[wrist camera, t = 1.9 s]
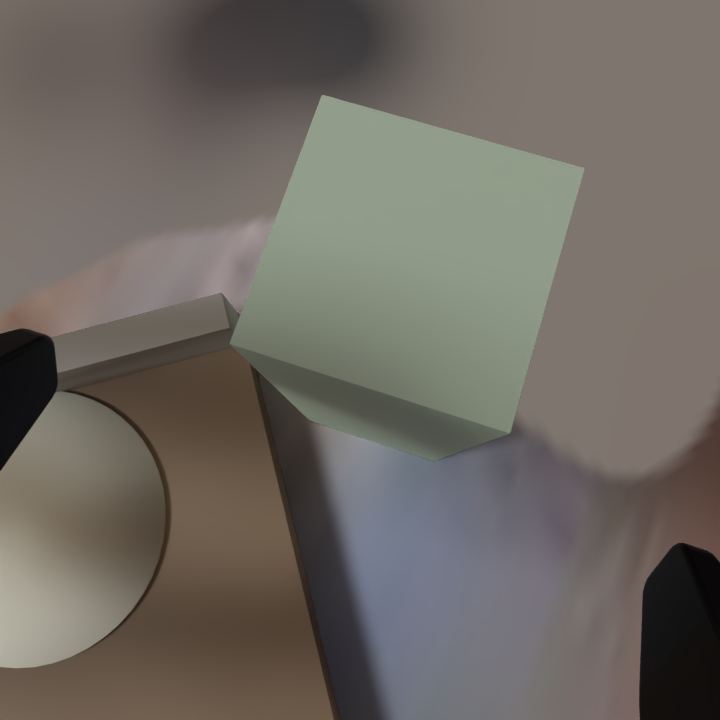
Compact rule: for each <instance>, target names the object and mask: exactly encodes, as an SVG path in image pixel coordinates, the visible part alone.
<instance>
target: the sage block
mask: <svg viewBox="0 0 720 720" xmlns="http://www.w3.org/2000/svg"><path fill="white" fill-rule="evenodd" d="M583 172H584V168H581V167H578V166H574V165H571V164H567V163H564V162H560V161H557V160H553V159H549V158H546V157H542V156H539V155H535V154H532V153H528V152H524V151H521V150H517V149H514V148H510V147H506V146H503V145H499V144H495V143H492V142H489V141H485V140H481V139H478V138H475V137H471V136H467V135H463V134H460V133H457V132H453V131H450V130H446V129H442V128H439V127H435V126H431V125H428V124H425V123H421V122H417V121H414V120H410V119H407V118H403V117H400V116H396V115H392V114H389V113H385V112H381V111H378V110H375V109H371V108H367V107H364V106H360V105H357V104H353V103H350V102H346V101H342V100H339V99H335V98H332V97H328V96H325V95H322V97H321V99H320V102H319V105H318V107H317V110H316V112H315V116H314V118H313V120H312V123H311V126H310V128H309V131H308V134H307V137H306V139H305V142H304V145H303V147H302V150H301V153H300V156H299V158H298V161H297V163H296V166H295V169H294V172H293V174H292V177H291V180H290V182H289V185H288V188H287V190H286V193H285V196H284V198H283V201H282V204H281V206H280V209H279V212H278V214H277V217H276V220H275V223H274V225H273V228H272V231H271V233H270V236H269V239H268V241H267V244H266V247H265V249H264V252H263V255H262V257H261V260H260V263H259V265H258V268H257V271H256V274H255V276H254V279H253V282H252V284H251V287H250V290H249V292H248V295H247V298H246V300H245V303H244V306H243V308H242V311H241V314H240V317H239V319H238V322H237V325H236V327H235V330H234V333H233V335H232V338H231V341H230V343H229V344H230V345H231V346H232V347H233V348H234V349H235V350H236V351H237V352H238V353H239V354H240V355H241V356H243V357H244V358H245V359H246V360H247V361H248V362H249V363H250V364H251V365H252V366H253V367H254V368H255V369H256V370H257V371H258V372H259V373H260V374H261V375H262V376H264V377H265V378H266V379H267V380H268V381H269V382H270V383H271V384H272V385H273V386H274V387H275V388H276V389H277V390H278V391H279V392H280V393H281V394H282V395H283V396H285V397H286V398H287V399H288V400H289V401H290V402H291V403H292V404H293V405H294V406H295V407H296V408H297V409H298V410H299V411H300V412H301V413H302V414H303V415H304V416H306V417H307V418H308V419H309V420H310V421H312V422H315V423H318V424H321V425H324V426H327V427H330V428H333V429H336V430H340V431H343V432H346V433H349V434H352V435H355V436H358V437H361V438H364V439H367V440H370V441H373V442H376V443H379V444H382V445H386V446H389V447H392V448H395V449H398V450H401V451H404V452H407V453H410V454H413V455H416V456H419V457H422V458H425V459H429V460H432V461H436V460H439V459H442V458H444V457H447V456H450V455H453V454H455V453H458V452H461V451H464V450H466V449H469V448H472V447H475V446H477V445H480V444H483V443H485V442H488V441H491V440H494V439H496V438H499V437H502V436H505V435H507V434H510V433H511V429H512V425H513V422H514V418H515V415H516V411H517V408H518V404H519V400H520V397H521V393H522V390H523V386H524V382H525V379H526V375H527V371H528V368H529V365H530V361H531V357H532V354H533V350H534V347H535V343H536V339H537V336H538V333H539V329H540V325H541V322H542V318H543V315H544V311H545V308H546V304H547V300H548V297H549V293H550V290H551V286H552V283H553V279H554V276H555V271H556V268H557V265H558V261H559V258H560V254H561V251H562V247H563V243H564V239H565V236H566V232H567V229H568V226H569V222H570V218H571V214H572V211H573V208H574V204H575V200H576V197H577V193H578V190H579V186H580V183H581V179H582V176H583Z"/></svg>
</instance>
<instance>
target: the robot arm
mask: <svg viewBox="0 0 720 720" xmlns="http://www.w3.org/2000/svg"><path fill="white" fill-rule="evenodd" d="M57 385H58V374H57V364H56V354H55V345H54V342H53V340H52V339H51V338H50V337H49V336H47V335H45V334H42V333H39V332H36V331H32V330H29V329H17V330H13V331H9V332H6V333H2V334H0V471H1V470H2V468H3V467H4V466H5V464H6V463H7V461H8V460H9V459H10V457H11V456H12V454H13V453H14V452H15V450H16V449H17V447H18V446H19V445H20V443H21V442H22V440H23V439H24V437H25V436H26V435H27V433H28V432H29V430H30V429H31V428H32V426H33V425H34V423H35V422H36V420H37V419H38V418H39V416H40V415H41V413H42V412H43V411H44V409H45V408H46V406H47V405H48V404H49V402H50V401H51V399H52V398H53V396H54V394H55V392H56V389H57ZM639 709H640V720H720V562H719V561H718V560H717V558H716V557H715V556H714V555H713V554H712V553H710V552H708V551H706V550H703V549H700V548H697V547H694V546H691V545H688V544H685V543H678V544H676V545H674V546H673V547H672V548H671V549H670V550H669V551H668V553H667V554H666V555H665V557H664V558H663V559H662V560H661V562H660V563H659V564H658V565H657V567H656V568H655V569H654V571H653V572H652V573H651V574H650V576H649V577H648V579H647V581H646V583H645V586H644V590H643V603H642V630H641V657H640V684H639Z"/></svg>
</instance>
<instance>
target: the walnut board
mask: <svg viewBox="0 0 720 720" xmlns="http://www.w3.org/2000/svg"><path fill="white" fill-rule="evenodd" d="M239 317H240V315H239V314H238V313H237V311H236V310H235V309H234V308H233V306H232V305H231V304H230V303H229V302H228V300H227V299H226V298H225V297H224V295H223V294H222V293H219V294H215V295H212V296H208V297H204V298H200V299H196V300H193V301H189V302H185V303H181V304H177V305H173V306H170V307H166V308H162V309H158V310H154V311H151V312H147V313H143V314H139V315H135V316H131V317H128V318H124V319H120V320H116V321H112V322H109V323H105V324H101V325H97V326H93V327H90V328H86V329H82V330H78V331H74V332H70V333H67V334H63V335H59V336H55V337H51V339H52V340H53V342H54V345H55V354H56V364H57V374H58V385H57V389H56V392H55V394H54V396H53V398H52V399H51V401H50V402H49V404H48V405H47V406H46V408H45V409H44V411H43V412H42V413H41V415H40V416H39V418H38V419H37V420H36V422H35V423H34V425H33V426H32V428H31V429H30V430H29V432H28V433H27V435H26V436H25V437H24V439H23V440H22V442H21V443H20V445H19V446H18V447H17V449H16V450H15V452H14V453H13V454H12V456H11V457H10V459H9V460H8V461H7V463H6V464H5V466H4V467H3V468H2V470H1V471H0V720H340V717H339V712H338V708H337V704H336V700H335V696H334V692H333V687H332V683H331V679H330V675H329V671H328V666H327V662H326V658H325V654H324V650H323V645H322V641H321V637H320V633H319V629H318V624H317V620H316V616H315V612H314V608H313V603H312V599H311V595H310V591H309V587H308V582H307V578H306V574H305V570H304V566H303V562H302V557H301V553H300V549H299V545H298V541H297V536H296V532H295V528H294V524H293V520H292V515H291V511H290V507H289V503H288V499H287V494H286V490H285V486H284V482H283V478H282V473H281V469H280V465H279V461H278V457H277V452H276V448H275V444H274V440H273V436H272V431H271V427H270V423H269V419H268V415H267V411H266V406H265V402H264V398H263V394H262V390H261V385H260V381H259V377H258V373H257V370H256V369H255V368H254V367H253V366H252V365H251V364H250V363H249V362H248V361H247V360H246V359H245V358H244V357H243V356H241V355H240V354H239V353H238V352H237V351H236V350H235V349H234V348H233V347H232V346H231V345H230V344H229V343H230V341H231V338H232V335H233V333H234V330H235V327H236V325H237V322H238V319H239Z"/></svg>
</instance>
